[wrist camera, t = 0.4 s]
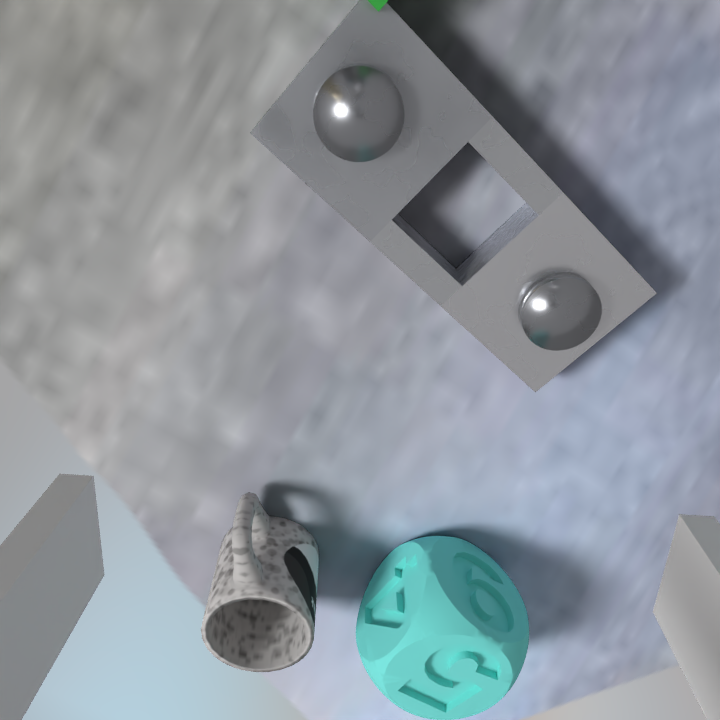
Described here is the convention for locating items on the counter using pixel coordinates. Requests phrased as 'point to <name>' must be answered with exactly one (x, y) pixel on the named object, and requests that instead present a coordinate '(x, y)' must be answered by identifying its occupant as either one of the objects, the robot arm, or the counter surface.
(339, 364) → the counter surface
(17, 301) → the counter surface
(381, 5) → the pipe clamp
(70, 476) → the robot arm
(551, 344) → the plate with dome knobs
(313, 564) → the mug
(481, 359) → the counter surface
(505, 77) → the counter surface
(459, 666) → the decorative dice
